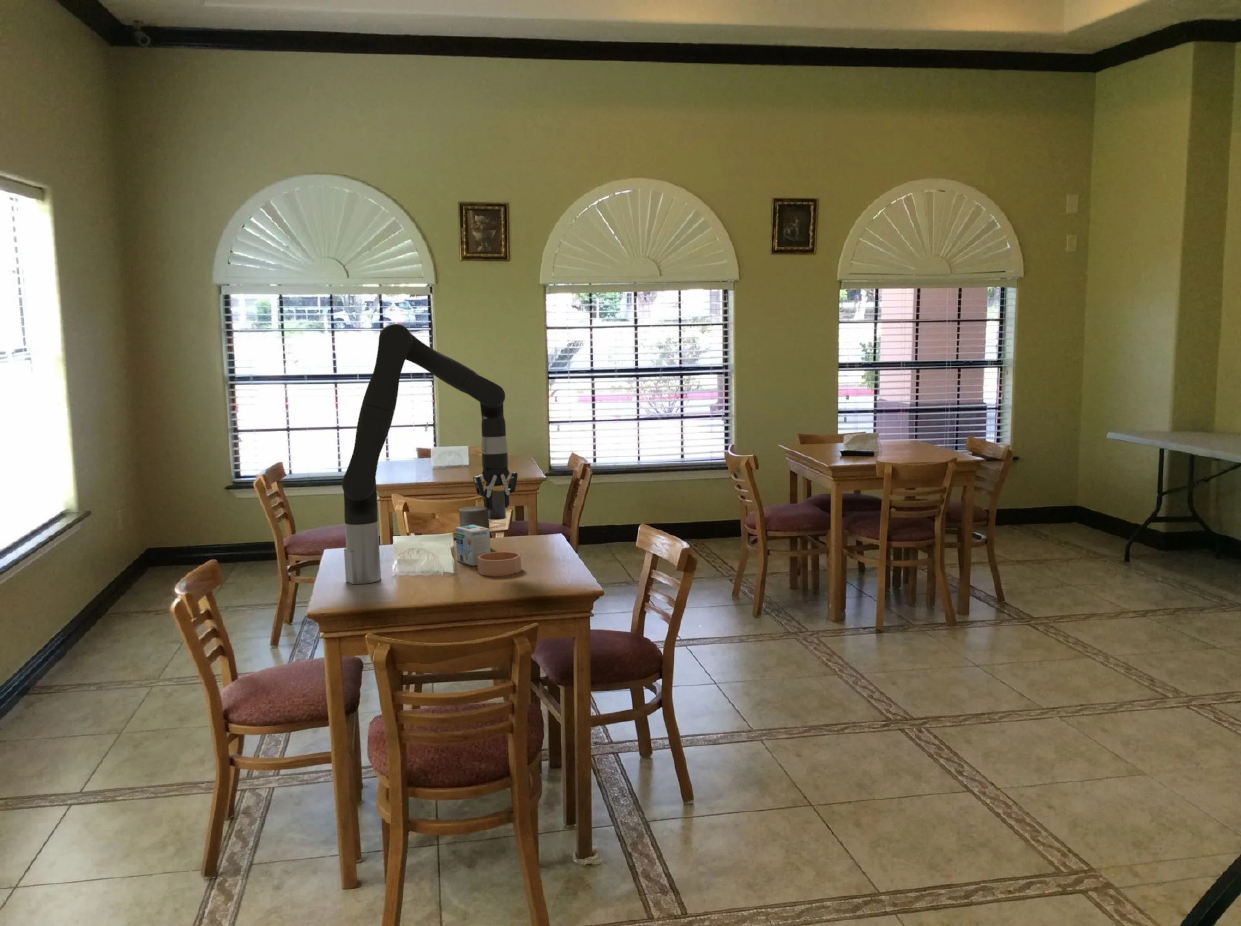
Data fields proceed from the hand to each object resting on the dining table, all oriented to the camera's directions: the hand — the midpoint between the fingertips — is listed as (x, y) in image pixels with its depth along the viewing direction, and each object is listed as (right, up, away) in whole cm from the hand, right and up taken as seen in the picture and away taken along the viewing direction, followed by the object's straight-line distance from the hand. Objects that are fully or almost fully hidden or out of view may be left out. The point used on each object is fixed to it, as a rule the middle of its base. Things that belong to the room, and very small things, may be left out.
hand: (496, 508), depth 299 cm
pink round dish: (+1, -19, +2) cm, 19 cm away
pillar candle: (-11, -15, +35) cm, 40 cm away
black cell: (0, -3, 0) cm, 3 cm away
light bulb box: (-9, -18, +16) cm, 26 cm away
